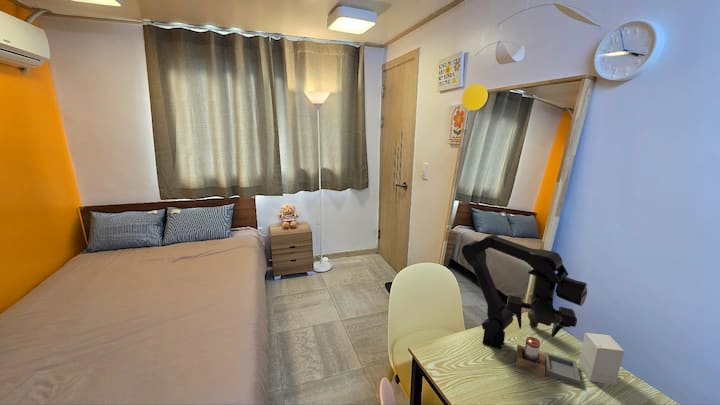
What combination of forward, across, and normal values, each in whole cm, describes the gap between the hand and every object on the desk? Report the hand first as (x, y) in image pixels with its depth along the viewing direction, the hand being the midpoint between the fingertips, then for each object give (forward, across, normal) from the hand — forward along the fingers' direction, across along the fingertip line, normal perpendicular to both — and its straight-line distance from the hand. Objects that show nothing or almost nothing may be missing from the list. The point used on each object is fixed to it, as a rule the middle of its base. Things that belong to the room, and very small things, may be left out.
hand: (535, 332), depth 96 cm
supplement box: (+12, +19, +4) cm, 23 cm away
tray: (+12, +9, +1) cm, 15 cm away
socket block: (+12, 0, 0) cm, 12 cm away
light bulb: (+13, +2, +21) cm, 25 cm away
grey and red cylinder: (+12, 0, 0) cm, 12 cm away
